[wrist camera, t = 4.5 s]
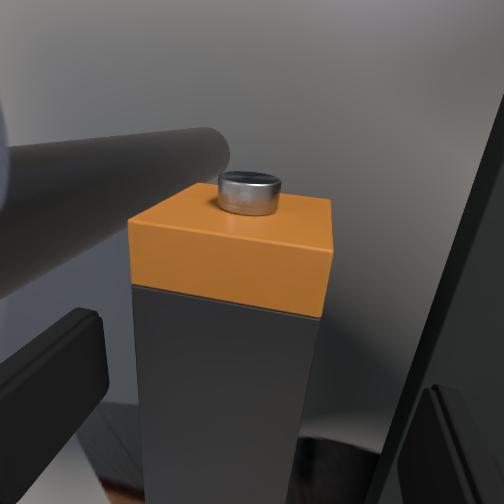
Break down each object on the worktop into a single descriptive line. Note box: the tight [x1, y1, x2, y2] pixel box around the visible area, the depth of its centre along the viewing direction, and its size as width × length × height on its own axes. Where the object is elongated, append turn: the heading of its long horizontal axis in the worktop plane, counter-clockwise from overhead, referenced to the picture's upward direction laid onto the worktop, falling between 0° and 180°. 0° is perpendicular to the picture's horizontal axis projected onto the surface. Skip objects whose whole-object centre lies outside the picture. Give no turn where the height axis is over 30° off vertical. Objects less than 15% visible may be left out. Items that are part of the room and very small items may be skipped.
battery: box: [128, 171, 334, 504], centre depth 11 cm, size 4×11×4 cm, turn 174°
